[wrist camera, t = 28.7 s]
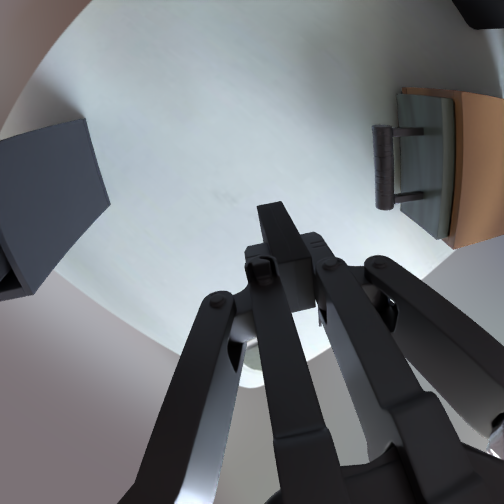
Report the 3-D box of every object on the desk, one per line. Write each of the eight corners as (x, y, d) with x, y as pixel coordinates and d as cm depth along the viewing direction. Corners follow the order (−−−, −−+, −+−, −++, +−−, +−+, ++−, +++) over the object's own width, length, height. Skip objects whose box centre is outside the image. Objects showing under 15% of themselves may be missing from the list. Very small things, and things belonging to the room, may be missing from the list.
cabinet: (405, 211, 24) (453, 250, 18) (401, 87, 19) (461, 91, 12) (500, 194, 24) (543, 221, 18) (503, 100, 19) (553, 113, 12)
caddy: (57, 221, 22) (-22, 306, 11) (31, 144, 18) (-72, 194, 7) (111, 204, 22) (33, 295, 11) (85, 118, 18) (-26, 149, 7)
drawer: (359, 218, 23) (391, 251, 18) (350, 94, 18) (388, 95, 13) (495, 194, 23) (530, 215, 18) (498, 104, 18) (538, 114, 13)
